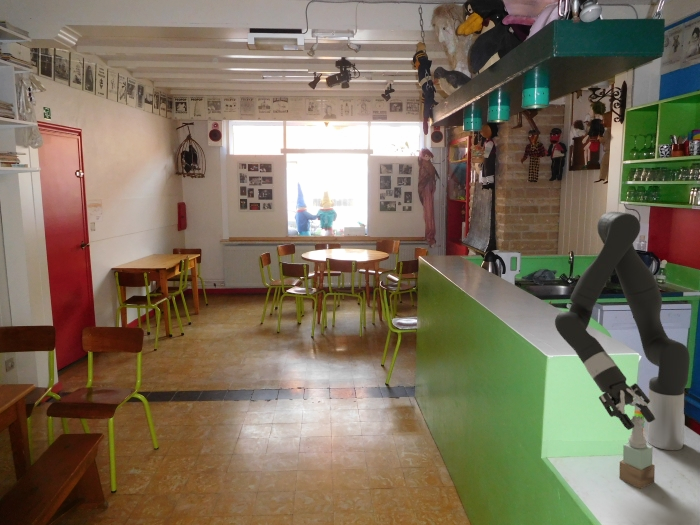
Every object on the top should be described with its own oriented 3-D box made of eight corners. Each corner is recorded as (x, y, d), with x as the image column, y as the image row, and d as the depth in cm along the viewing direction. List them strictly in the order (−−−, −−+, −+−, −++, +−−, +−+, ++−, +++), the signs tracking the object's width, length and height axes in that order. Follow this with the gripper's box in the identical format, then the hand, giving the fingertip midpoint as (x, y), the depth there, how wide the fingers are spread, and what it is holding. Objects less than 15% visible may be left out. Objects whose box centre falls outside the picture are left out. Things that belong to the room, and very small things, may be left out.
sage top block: (634, 457, 145) (634, 439, 144) (652, 464, 141) (652, 446, 140) (623, 462, 143) (623, 444, 142) (641, 469, 138) (641, 452, 138)
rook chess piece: (649, 449, 138) (649, 421, 138) (631, 449, 139) (631, 420, 138) (643, 442, 143) (643, 414, 142) (625, 441, 144) (626, 413, 143)
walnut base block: (633, 472, 146) (633, 455, 146) (654, 482, 141) (654, 465, 140) (619, 478, 144) (619, 461, 143) (639, 488, 138) (640, 471, 138)
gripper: (595, 369, 142) (634, 425, 133) (629, 360, 149) (668, 412, 140) (579, 383, 148) (615, 436, 139) (612, 373, 154) (649, 424, 145)
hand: (642, 424), depth 139 cm, fingers open, 8 cm apart
